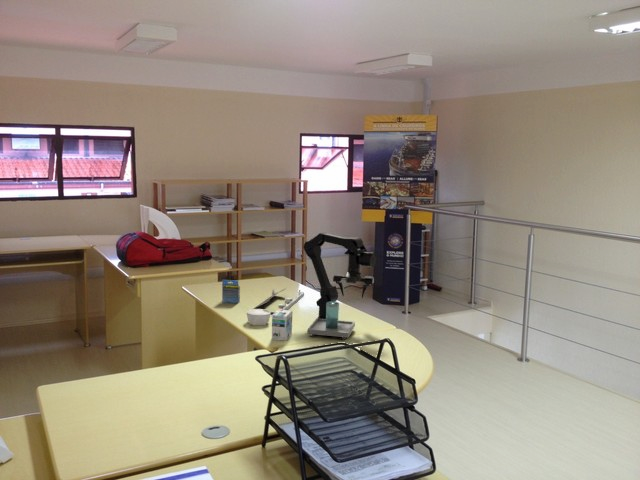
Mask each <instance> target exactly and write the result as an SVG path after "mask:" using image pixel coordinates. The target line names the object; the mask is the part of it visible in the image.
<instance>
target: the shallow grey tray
mask: <svg viewBox="0 0 640 480" xmlns="http://www.w3.org/2000/svg"><path fill="white" fill-rule="evenodd" d="M355 323H356V322H355V321H350V320H340V319H338V328H336V329H329V328H326V319H321V318H318V317H317V318H315V320H314V321H312V323H311V324H310V326H308V328H307V334H308V335H309V334H310V337H312V338H315V335H319V336H331V337H340V338H342V341H346V340H347V339H348V338H349V337H350V336H351V333H352V332H353V330H354V328H355V325H356V324H355Z"/></svg>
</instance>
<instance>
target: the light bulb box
mask: <svg viewBox="0 0 640 480" xmlns="http://www.w3.org/2000/svg"><path fill="white" fill-rule="evenodd" d="M274 312H275V313H272V315H271V340H279V341H287V340H288V339H289V338H290V337H291V335H293V310H289V309H288V310H282V309H277V310H276V311H274Z"/></svg>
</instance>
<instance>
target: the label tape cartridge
mask: <svg viewBox="0 0 640 480" xmlns="http://www.w3.org/2000/svg"><path fill="white" fill-rule="evenodd" d="M221 285H222V288H221V289H222V293H221V295H222V296H221V297H222V301H221V302H222V303H232V304H239V303H240V301H241V300H240V299H241V286H240V285H239V280H238V279H237V280H235V279H234V280H233V279H222V284H221Z"/></svg>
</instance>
